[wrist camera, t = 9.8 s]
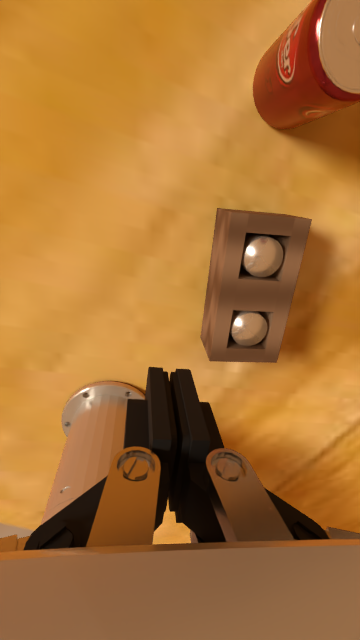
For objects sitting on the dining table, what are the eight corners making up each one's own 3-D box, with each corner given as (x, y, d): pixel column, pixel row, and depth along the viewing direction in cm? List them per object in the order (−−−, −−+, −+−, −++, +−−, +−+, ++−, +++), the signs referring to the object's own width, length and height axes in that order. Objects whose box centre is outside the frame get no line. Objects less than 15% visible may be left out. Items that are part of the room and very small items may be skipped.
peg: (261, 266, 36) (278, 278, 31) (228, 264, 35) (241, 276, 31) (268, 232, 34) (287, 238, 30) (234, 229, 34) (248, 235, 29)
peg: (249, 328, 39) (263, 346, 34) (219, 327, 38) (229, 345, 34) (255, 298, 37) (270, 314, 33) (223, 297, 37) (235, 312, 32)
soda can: (235, 89, 29) (289, 31, 19) (291, 19, 28) (386, -91, 17) (282, 147, 32) (355, 125, 21) (336, 85, 30) (445, 27, 19)
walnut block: (258, 339, 41) (276, 362, 35) (200, 337, 40) (209, 361, 34) (285, 214, 35) (311, 219, 29) (217, 208, 34) (231, 212, 28)
